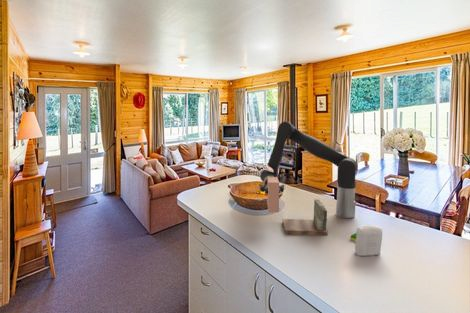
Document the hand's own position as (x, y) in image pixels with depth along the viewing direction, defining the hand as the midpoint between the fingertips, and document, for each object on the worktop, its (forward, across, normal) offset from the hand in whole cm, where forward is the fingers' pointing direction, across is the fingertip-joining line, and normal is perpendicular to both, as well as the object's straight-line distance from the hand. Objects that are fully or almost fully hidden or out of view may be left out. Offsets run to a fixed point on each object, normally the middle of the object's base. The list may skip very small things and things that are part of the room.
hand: (273, 192), depth 132 cm
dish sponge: (+9, +43, +20) cm, 48 cm away
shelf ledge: (0, +16, +19) cm, 25 cm away
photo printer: (+23, +38, +20) cm, 48 cm away
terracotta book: (-1, 0, +9) cm, 9 cm away
